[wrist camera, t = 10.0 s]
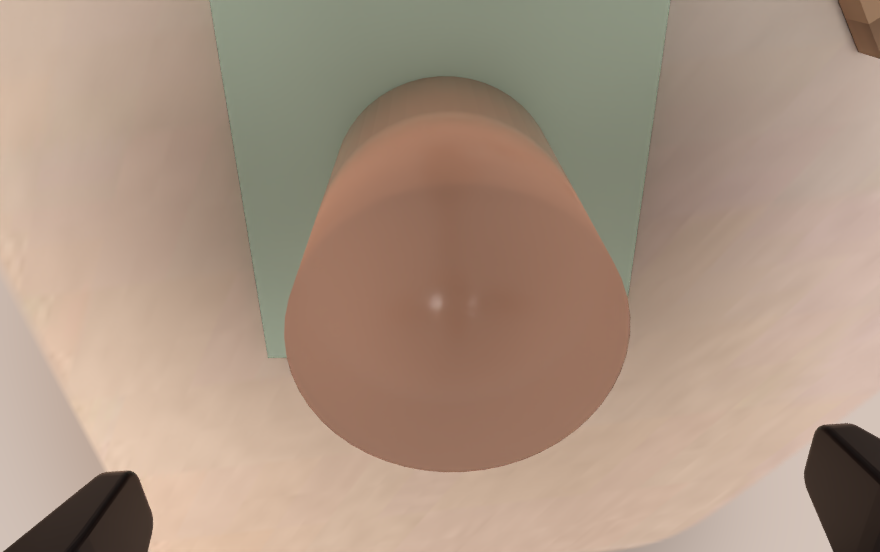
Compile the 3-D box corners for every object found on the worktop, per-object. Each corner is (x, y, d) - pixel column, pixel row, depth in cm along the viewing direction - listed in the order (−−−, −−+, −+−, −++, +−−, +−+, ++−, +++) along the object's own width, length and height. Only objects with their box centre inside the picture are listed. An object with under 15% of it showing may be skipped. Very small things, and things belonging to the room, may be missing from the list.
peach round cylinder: (319, 83, 17) (253, 195, 10) (557, 68, 17) (645, 171, 10) (353, 329, 20) (321, 530, 14) (550, 318, 20) (612, 513, 14)
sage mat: (207, -32, 16) (204, -31, 16) (671, -39, 16) (675, -38, 16) (270, 352, 21) (268, 357, 21) (618, 343, 21) (620, 348, 21)
